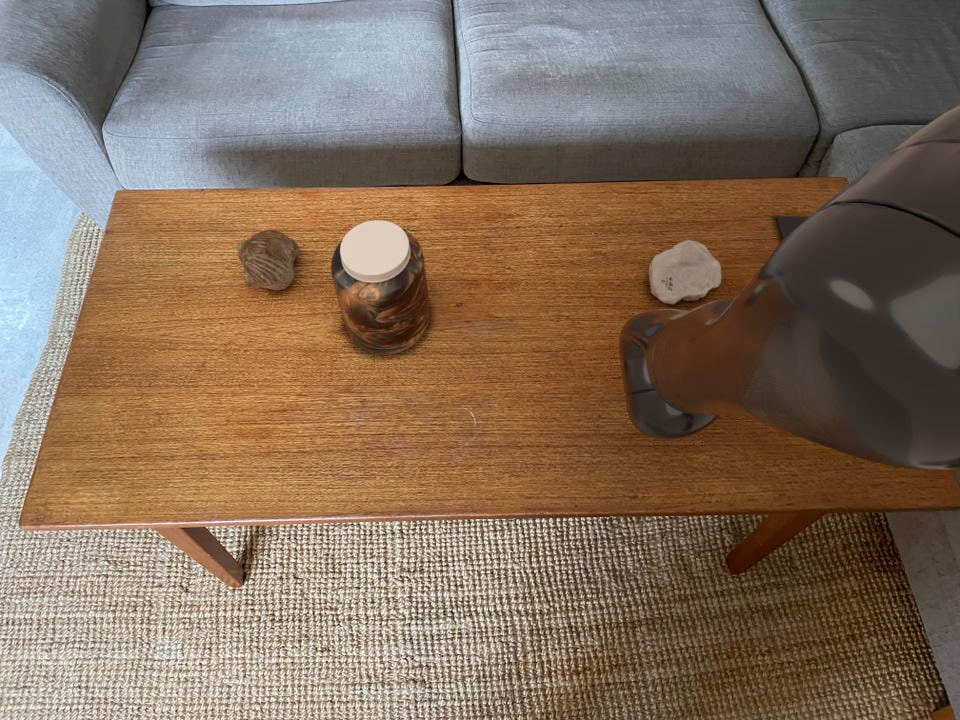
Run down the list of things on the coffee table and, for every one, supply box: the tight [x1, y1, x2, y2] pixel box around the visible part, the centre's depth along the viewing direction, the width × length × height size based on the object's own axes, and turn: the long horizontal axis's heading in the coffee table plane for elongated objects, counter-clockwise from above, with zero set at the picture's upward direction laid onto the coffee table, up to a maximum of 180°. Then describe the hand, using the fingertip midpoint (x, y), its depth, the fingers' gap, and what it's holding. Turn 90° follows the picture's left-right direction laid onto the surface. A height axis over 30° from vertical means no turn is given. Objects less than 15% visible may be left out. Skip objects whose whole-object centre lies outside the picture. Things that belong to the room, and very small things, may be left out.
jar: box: [330, 219, 431, 356], centre depth 83 cm, size 12×12×15 cm
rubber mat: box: [775, 215, 810, 242], centre depth 98 cm, size 8×6×1 cm
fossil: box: [648, 239, 723, 305], centre depth 91 cm, size 9×6×10 cm
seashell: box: [236, 229, 301, 291], centre depth 90 cm, size 9×7×8 cm
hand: (756, 374), depth 80 cm, fingers closed
